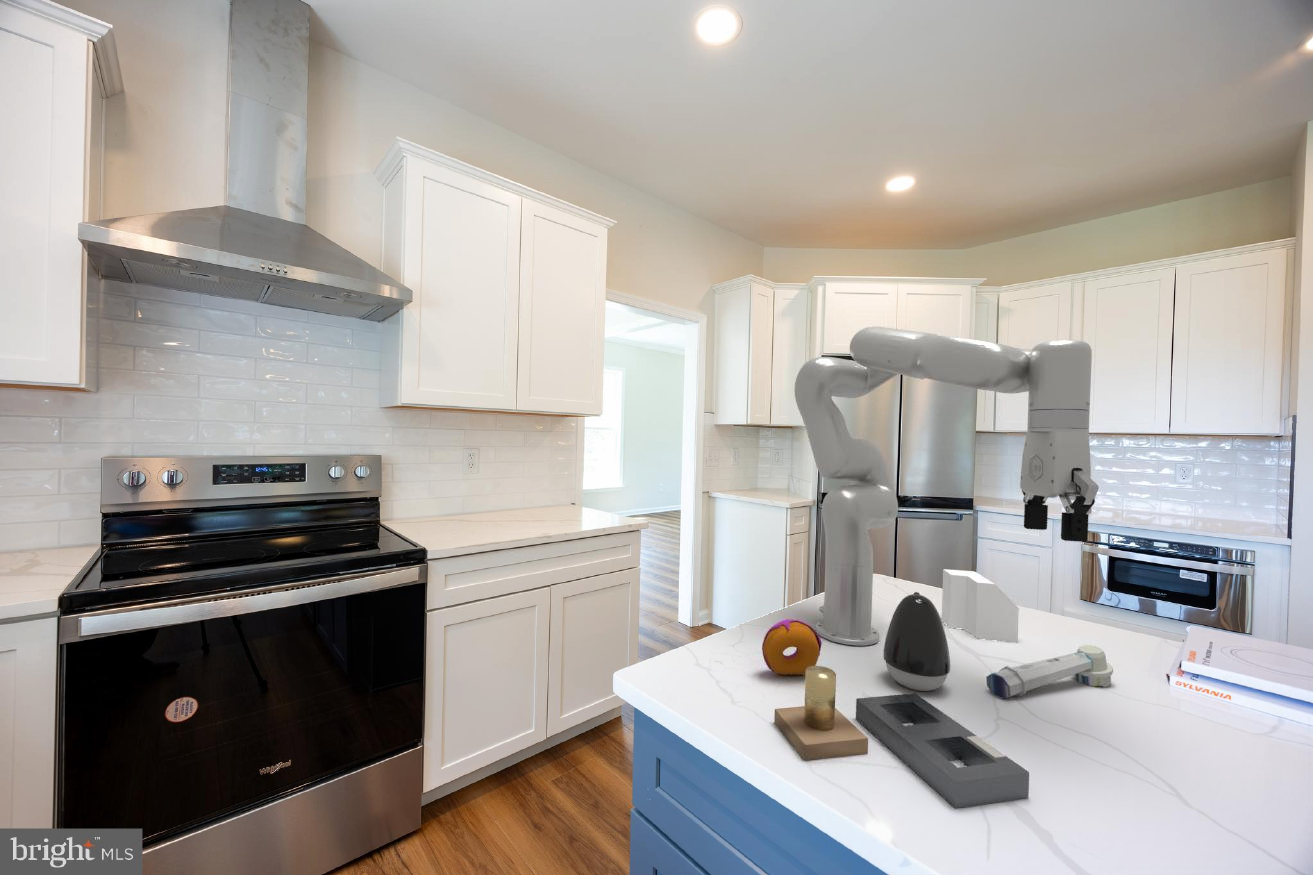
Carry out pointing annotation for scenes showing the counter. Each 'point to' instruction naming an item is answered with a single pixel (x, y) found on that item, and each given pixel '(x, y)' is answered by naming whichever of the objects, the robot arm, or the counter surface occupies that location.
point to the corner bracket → (978, 606)
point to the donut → (791, 636)
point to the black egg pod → (917, 645)
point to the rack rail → (942, 751)
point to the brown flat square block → (820, 735)
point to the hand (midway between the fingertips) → (1053, 534)
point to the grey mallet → (1052, 672)
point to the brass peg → (820, 698)
